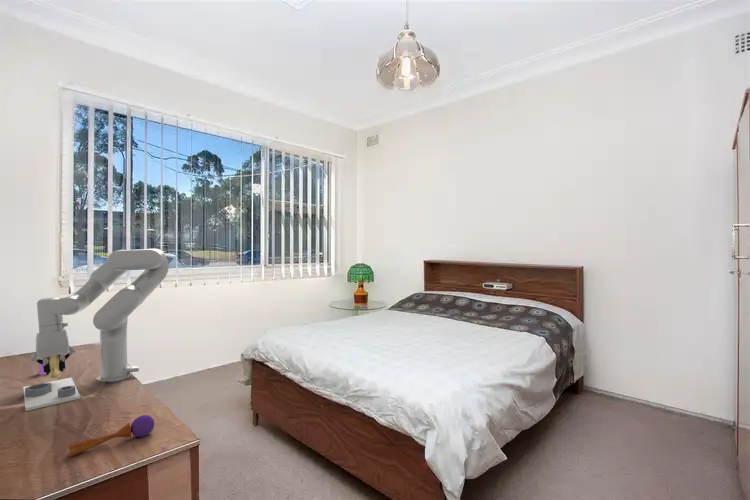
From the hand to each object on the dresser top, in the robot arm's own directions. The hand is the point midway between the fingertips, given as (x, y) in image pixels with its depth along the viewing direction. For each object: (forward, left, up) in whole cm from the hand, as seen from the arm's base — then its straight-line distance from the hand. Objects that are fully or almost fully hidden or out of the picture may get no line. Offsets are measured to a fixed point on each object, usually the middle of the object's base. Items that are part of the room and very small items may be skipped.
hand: (54, 372), depth 154 cm
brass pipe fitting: (0, 0, -2) cm, 2 cm away
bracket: (+10, -22, -6) cm, 24 cm away
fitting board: (-2, +11, -5) cm, 12 cm away
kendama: (-34, +64, -6) cm, 73 cm away
